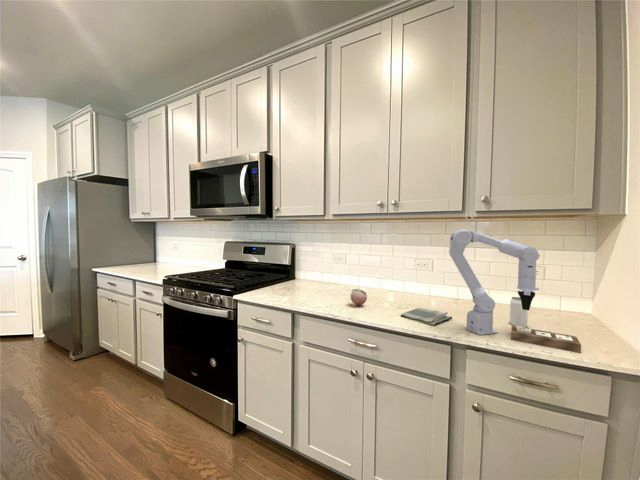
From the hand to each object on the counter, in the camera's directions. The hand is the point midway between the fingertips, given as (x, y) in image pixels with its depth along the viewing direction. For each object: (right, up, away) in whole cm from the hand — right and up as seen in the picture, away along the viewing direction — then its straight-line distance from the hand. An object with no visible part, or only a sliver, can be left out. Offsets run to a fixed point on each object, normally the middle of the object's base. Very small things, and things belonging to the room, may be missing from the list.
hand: (525, 309), depth 113 cm
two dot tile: (+7, -12, -10) cm, 17 cm away
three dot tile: (-3, -9, -3) cm, 11 cm away
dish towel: (-32, -10, +22) cm, 40 cm away
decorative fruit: (-62, -9, +41) cm, 75 cm away
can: (+6, -10, +12) cm, 17 cm away
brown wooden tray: (+2, -11, -7) cm, 13 cm away
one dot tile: (+2, -12, -7) cm, 13 cm away
